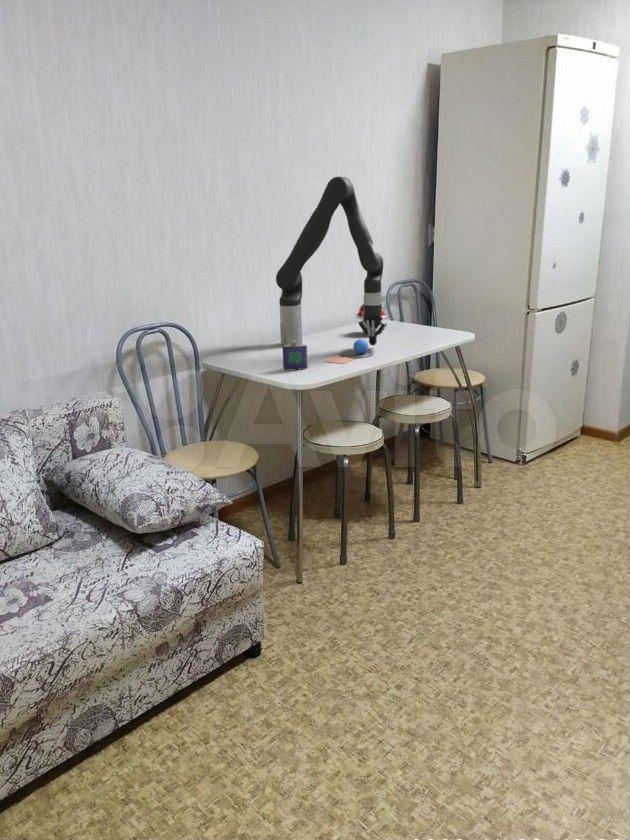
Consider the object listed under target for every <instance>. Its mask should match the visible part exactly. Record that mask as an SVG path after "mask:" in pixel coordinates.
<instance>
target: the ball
mask: <svg viewBox="0 0 630 840" xmlns="http://www.w3.org/2000/svg"><path fill="white" fill-rule="evenodd" d="M352 348H353V350H354V351H355V352H356V353H357V354H364V353H365V352H366V351H369V350H368V349H369V343H368V342H367V341H366V340H365V339H361V338H360V339H357V340H355V342H354V343H353V346H352Z"/></svg>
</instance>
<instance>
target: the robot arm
mask: <svg viewBox="0 0 630 840" xmlns="http://www.w3.org/2000/svg"><path fill="white" fill-rule="evenodd" d="M354 187H355V186H354V185H353V182H352V181H351V179H349V178H348V177H345V176H334V177H333V178H330V180H329V181H328V183H327V185H326V187H325V188H324V191H323V193H322V196H321V198H320V200H319V202H318V204H317V206H316V208H315V209H314V210H313V212H312V214H311V216H310V217H309V219H308V220H307V222H306V224H305V226H304V227H303V229H302V230H301V233H300V234H299V236H298V237H297V238H298V239H297V240H296V242H295V244H294V246H293V248H292V250H291V252H290V254H289V255H288V258H286V260H285V262H284V263H283V264H282V265H281V267H280V268H279V269H278V271H277V273H276V277H275V283H276V286H278V288H280V289H281V294H280V297H279V302H278V303H279V322H280V324H279V329H280V330H279V333H280V346H281V345H287V344H288V345H289V344H293V341H297V342H296V344H297V345H303V325H302V324H303V322H302V318H303V317H302V298H303V275H302V273H301V271H302V269H303V267H304V266H305V265H306V263H307V262H308V260H310V258H311V257H313V255H314V254H315V253H316V251H317V250H319V248H320V246H321V245H322V243H323V241H324V240H325V238H326V236H327V234H328V231H329V229H330V226H331V222H332V218H333V215H334V214H335V212H336V210H337V209H338V207H339V206H341V207H342V209H343V211H344V214H345V216H346V221H347V225H348V230H349V233H350V235H351V238H352V240H353V242H354V245H355V247H356V249H357V255H358V259H359V262H360V265H361V267H362V268H363V270H364V271H366V277H365V279H364V281H363V300H362V302H363V304H364V317H363V319H361V321H359V322H358V325H359V326H360V329H361V330H362V332H363V331H364V332H363V334H364V333H365V334H367V335H366V336H368V342H369V343H368V344H369V345H370V346H376V344H377V336H378V335H379V336H380V335H381V334H382V333H383V331H385V328H387V326H388V323H386V322H384V321H383V319H382V317H381V315H382V307H383V297H382V278H383V271H384V259H383V256H382V255H381V254H380V253H378V252H375V251H374V248H373V244H374V242H373V241H374V240H373V238H372V236H371V233H370V232H369V229H368V226H367V225H366V223H365V220H364V217H363V215H362V212H361V209H360V206H359V203H358V200H357V194H356V193H355V188H354ZM366 325H367V326H366ZM378 327H380V328H379V329H378ZM365 334H364V335H365Z"/></svg>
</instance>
